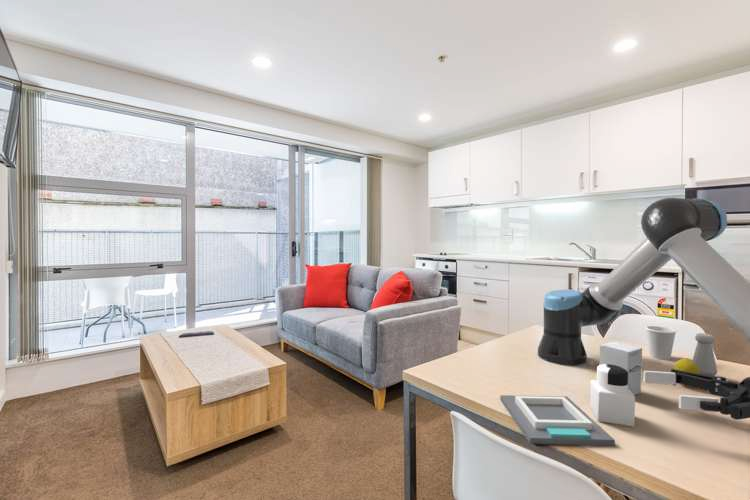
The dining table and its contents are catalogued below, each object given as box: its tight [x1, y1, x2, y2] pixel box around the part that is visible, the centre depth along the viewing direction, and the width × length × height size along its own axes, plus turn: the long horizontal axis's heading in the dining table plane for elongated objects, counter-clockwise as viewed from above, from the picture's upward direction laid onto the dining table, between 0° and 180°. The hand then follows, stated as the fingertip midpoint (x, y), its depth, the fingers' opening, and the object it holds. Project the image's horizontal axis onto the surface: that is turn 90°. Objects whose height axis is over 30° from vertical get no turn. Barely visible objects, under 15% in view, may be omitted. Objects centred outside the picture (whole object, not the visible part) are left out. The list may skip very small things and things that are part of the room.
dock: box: [499, 394, 616, 446], centre depth 80 cm, size 19×17×3 cm
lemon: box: [673, 357, 700, 387], centre depth 98 cm, size 6×6×8 cm
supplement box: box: [598, 341, 643, 396], centre depth 94 cm, size 7×7×13 cm
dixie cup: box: [645, 325, 677, 361], centre depth 121 cm, size 8×8×10 cm
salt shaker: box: [691, 332, 718, 376], centre depth 104 cm, size 6×6×13 cm
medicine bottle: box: [589, 364, 636, 427], centre depth 81 cm, size 7×7×12 cm
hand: (660, 388), depth 79 cm, fingers open, 13 cm apart
